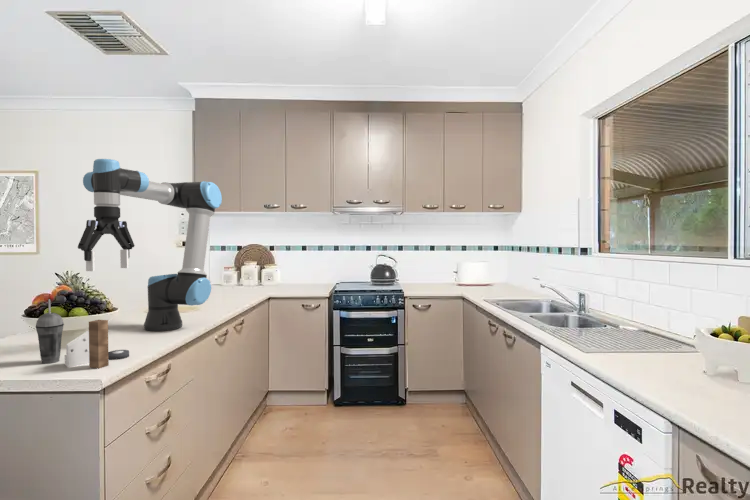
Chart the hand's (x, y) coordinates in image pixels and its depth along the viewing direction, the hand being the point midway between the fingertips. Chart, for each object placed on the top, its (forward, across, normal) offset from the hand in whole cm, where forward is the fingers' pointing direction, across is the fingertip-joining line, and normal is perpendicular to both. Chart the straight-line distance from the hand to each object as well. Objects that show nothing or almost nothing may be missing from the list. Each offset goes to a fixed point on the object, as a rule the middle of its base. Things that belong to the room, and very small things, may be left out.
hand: (108, 269), depth 147 cm
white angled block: (+29, +12, 0) cm, 31 cm away
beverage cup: (+29, +13, -10) cm, 33 cm away
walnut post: (+28, +13, +9) cm, 32 cm away
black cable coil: (+28, +3, +6) cm, 29 cm away
